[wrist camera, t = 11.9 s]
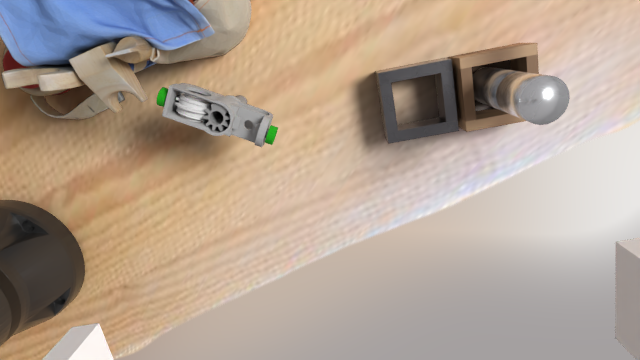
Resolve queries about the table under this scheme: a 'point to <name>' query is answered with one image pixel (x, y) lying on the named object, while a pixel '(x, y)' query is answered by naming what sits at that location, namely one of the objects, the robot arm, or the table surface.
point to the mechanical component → (216, 113)
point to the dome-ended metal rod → (521, 94)
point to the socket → (444, 97)
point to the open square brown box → (469, 119)
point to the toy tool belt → (109, 44)
